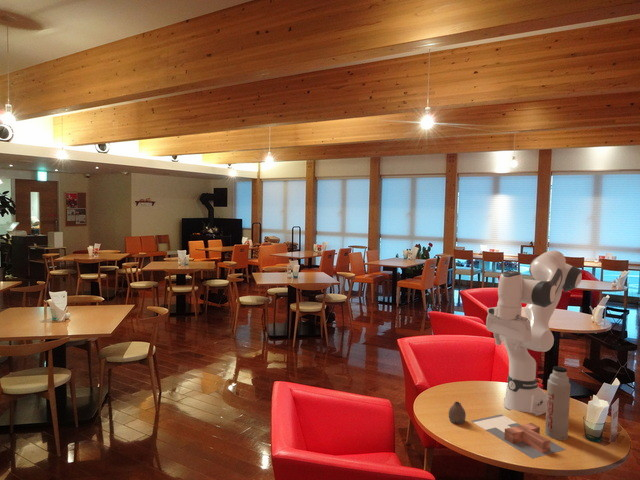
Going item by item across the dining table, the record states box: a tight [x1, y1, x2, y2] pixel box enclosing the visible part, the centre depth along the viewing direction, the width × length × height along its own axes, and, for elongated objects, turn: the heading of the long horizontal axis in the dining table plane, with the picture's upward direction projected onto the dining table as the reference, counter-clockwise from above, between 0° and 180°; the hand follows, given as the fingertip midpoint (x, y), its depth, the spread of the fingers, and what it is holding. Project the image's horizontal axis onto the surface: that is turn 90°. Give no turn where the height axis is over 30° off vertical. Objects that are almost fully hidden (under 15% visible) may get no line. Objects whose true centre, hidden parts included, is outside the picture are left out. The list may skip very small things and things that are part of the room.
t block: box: [504, 422, 552, 453], centre depth 173 cm, size 14×13×4 cm
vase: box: [448, 401, 467, 425], centre depth 191 cm, size 7×7×9 cm
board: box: [471, 414, 566, 459], centre depth 181 cm, size 17×32×1 cm, turn 23°
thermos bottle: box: [544, 365, 572, 441], centre depth 180 cm, size 8×8×28 cm
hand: (507, 347), depth 179 cm, fingers open, 8 cm apart
